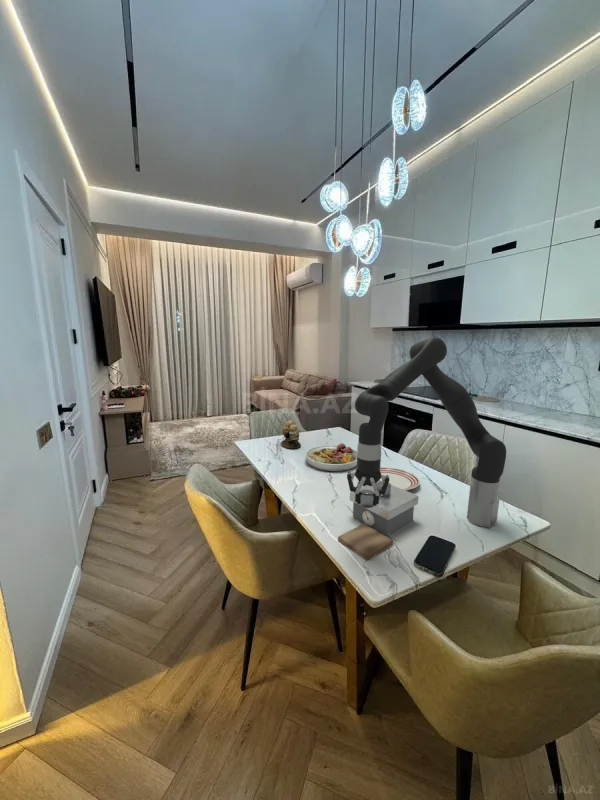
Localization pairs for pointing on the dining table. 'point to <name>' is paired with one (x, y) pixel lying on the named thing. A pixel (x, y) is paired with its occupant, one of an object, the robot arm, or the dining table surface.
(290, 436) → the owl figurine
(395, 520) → the scale
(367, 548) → the walnut board
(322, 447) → the bowl
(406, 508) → the pan
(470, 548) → the dining table surface
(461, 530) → the dining table surface
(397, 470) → the dinner plate
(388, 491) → the cylinder
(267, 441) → the dining table surface
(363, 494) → the cylinder
